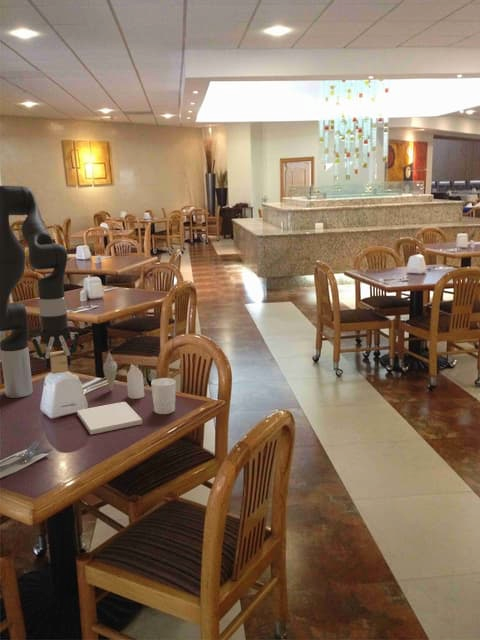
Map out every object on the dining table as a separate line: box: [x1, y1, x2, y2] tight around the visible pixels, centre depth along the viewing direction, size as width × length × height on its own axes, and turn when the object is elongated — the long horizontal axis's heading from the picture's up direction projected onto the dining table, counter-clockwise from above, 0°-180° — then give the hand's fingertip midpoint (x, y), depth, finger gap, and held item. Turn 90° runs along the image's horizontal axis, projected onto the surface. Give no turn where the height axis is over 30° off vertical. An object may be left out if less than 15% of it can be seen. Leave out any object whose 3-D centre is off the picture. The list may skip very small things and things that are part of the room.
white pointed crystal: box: [126, 363, 145, 400], centre depth 200 cm, size 6×12×6 cm
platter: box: [76, 401, 143, 435], centre depth 181 cm, size 18×16×2 cm
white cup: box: [150, 377, 176, 415], centre depth 187 cm, size 8×8×10 cm
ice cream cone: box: [102, 351, 118, 392], centre depth 206 cm, size 5×5×15 cm
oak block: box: [49, 350, 69, 375], centre depth 170 cm, size 6×4×5 cm
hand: (58, 368), depth 171 cm, fingers closed on oak block, 4 cm apart
